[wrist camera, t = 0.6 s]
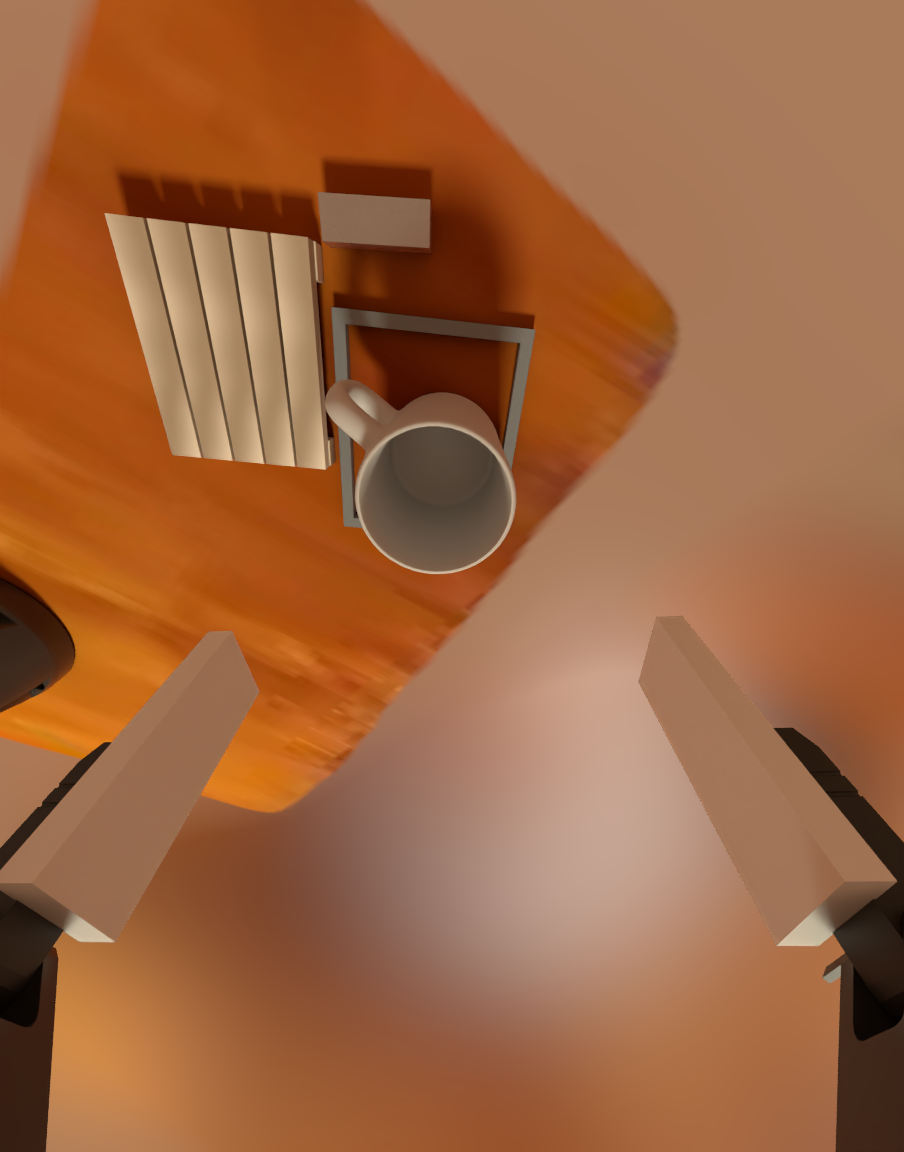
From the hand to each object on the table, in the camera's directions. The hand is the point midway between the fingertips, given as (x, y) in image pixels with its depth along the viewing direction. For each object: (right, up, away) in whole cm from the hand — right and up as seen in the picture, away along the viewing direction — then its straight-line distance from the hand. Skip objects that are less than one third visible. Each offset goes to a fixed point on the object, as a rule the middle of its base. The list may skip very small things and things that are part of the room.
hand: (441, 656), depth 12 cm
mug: (-2, +13, +16) cm, 21 cm away
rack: (-14, +17, +14) cm, 26 cm away
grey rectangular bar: (-4, +23, +10) cm, 26 cm away
